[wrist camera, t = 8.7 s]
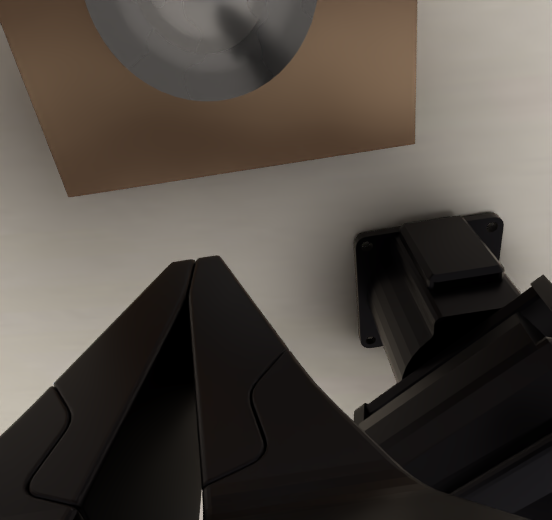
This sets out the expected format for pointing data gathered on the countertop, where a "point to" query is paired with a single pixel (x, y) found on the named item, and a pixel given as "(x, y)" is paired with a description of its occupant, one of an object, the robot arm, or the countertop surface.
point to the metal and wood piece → (203, 42)
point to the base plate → (214, 114)
